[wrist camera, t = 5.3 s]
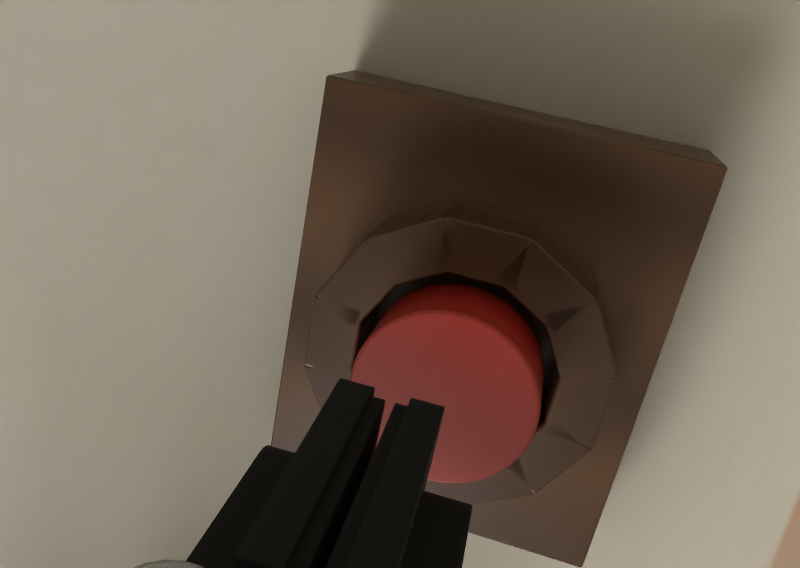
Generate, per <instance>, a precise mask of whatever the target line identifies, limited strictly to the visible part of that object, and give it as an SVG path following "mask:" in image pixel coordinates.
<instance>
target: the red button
mask: <svg viewBox="0 0 800 568" xmlns="http://www.w3.org/2000/svg"><path fill="white" fill-rule="evenodd" d="M543 376H544V364H543V357H542V352H541V348H540V345H539V343H538V340H537V338H536V336H535V334H534V332H533V330H532V328H531V327H530V325H529V324H528V323H527V321H526V320H525V319H524V317H523V316H522V315H521V314H520V313H519V312H518V311H517V310H516V309H515V308H513V307H512V306H511V305H510V304H509V303H507V302H506V301H504V300H503V299H501V298H500V297H498V296H496V295H494V294H492V293H490V292H488V291H486V290H483V289H480V288H477V287H473V286H468V285H463V284H437V285H432V286H427V287H424V288H420V289H417V290H415V291H413V292H411V293H409V294H407V295H405V296H404V297H402V298H401V299H399V300H398V301H396V302H395V303H394V304H393V305H392V306H391V307H390V308H389V309H388V310H387V311H386V312H385V314H384V315H383V316H382V318H381V319H380V321H379V322H378V324H377V325H376V327H375V328H374V329H373V331H372V332H371V334H370V335H369V337H368V338H367V340H366V341H365V343H364V344H363V346H362V348H361V349H360V351H359V352H358V355H357V357H356V359H355V362H354V365H353V368H352V372H351V379H350V381H354V382H357V383H361V384H365V385H368V386H372V387H374V388H375V392H374V397H377V398H380V399H384V400H385V406H384V411H383V416H382V421H381V426H380V431H379V435H378V440H377V444H378V442H379V440H380V437H381V435H382V433H383V430H384V428H385V426H386V423H387V421H388V418H389V416H390V414H391V411H392V409H393V407H394V404H395V403H398V404H402V405H405V406H408V404H409V401H410V399H411V398H415V399H419V400H422V401H426V402H430V403H433V404H437V405H440V406H444V407H445V410H444V414H443V418H442V422H441V426H440V430H439V434H438V438H437V442H436V446H435V450H434V454H433V458H432V462H431V466H430V470H429V474H428V478H427V480H430V481H434V482H441V483H468V482H473V481H478V480H482V479H485V478H488V477H490V476H493V475H495V474H497V473H499V472H501V471H502V470H504V469H505V468H507V467H508V466H510V465H511V464H512V463H514V462H515V461H516V460H517V459H518V458H519V457H520V456H521V455H522V454H523V452H524V451H525V450H526V449H527V447H528V446H529V444H530V442H531V441H532V439H533V437H534V434H535V432H536V429H537V427H538V422H539V418H540V410H541V399H542V388H543ZM376 447H377V445H376Z"/></svg>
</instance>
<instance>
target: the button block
mask: <svg viewBox="0 0 800 568" xmlns="http://www.w3.org/2000/svg"><path fill="white" fill-rule="evenodd" d="M726 171H727V166H726V165H725V164H724V163H723V162H721V161H720V160H719V159H718V158H717V157H716V156H715V155H714V154H713V153H711V152H710V151H709V150H705V149H700V148H696V147H691V146H687V145H683V144H678V143H674V142H669V141H665V140H660V139H656V138H652V137H647V136H643V135H638V134H634V133H629V132H625V131H621V130H616V129H612V128H607V127H603V126H598V125H594V124H590V123H585V122H581V121H576V120H572V119H567V118H563V117H559V116H554V115H550V114H545V113H541V112H536V111H532V110H528V109H523V108H519V107H514V106H510V105H506V104H501V103H497V102H492V101H488V100H483V99H479V98H475V97H470V96H466V95H461V94H457V93H452V92H448V91H444V90H439V89H435V88H430V87H426V86H421V85H417V84H413V83H408V82H404V81H399V80H395V79H390V78H386V77H382V76H377V75H373V74H368V73H364V72H359V71H355V70H354V71H349V72H343V73H338V74H332V75H327V77H326V84H325V90H324V97H323V104H322V110H321V117H320V124H319V130H318V137H317V143H316V150H315V157H314V163H313V170H312V177H311V183H310V190H309V196H308V203H307V210H306V216H305V223H304V230H303V236H302V243H301V249H300V256H299V263H298V269H297V276H296V283H295V289H294V296H293V302H292V309H291V316H290V322H289V329H288V336H287V342H286V349H285V355H284V362H283V369H282V375H281V382H280V389H279V395H278V402H277V408H276V415H275V422H274V428H273V435H272V442H271V446H273V447H276V448H280V449H283V450H287V451H290V452H293V453H295V452H296V451H297V449H298V447H299V446H300V444H301V442H302V441H303V439H304V437H305V436H306V434H307V432H308V431H309V429H310V427H311V426H312V424H313V422H314V420H315V419H316V417H317V415H318V414H319V412H320V410H321V409H322V407H323V405H324V404H325V402H326V400H327V399H328V397H329V395H330V394H331V392H332V390H333V389H334V387H335V385H336V384H337V382H338V381H339V379H340V378H343V379H347V380H350V379H351V372H352V368H353V365H354V362H355V359H356V357H357V355H358V352H359V351H360V349H361V348H362V346H363V344H364V343H365V341H366V340H367V338H368V337H369V335H370V334H371V332H372V331H373V329H374V328H375V327H376V325H377V324H378V322H379V321H380V319H381V318H382V316H383V315H384V314H385V312H386V311H387V310H388V309H389V308H390V307H391V306H392V305H393V304H394V303H395V302H396V301H398V300H399V299H401V298H402V297H404V296H405V295H407V294H409V293H411V292H413V291H415V290H417V289H420V288H424V287H427V286H432V285H437V284H463V285H468V286H473V287H477V288H480V289H483V290H486V291H488V292H490V293H492V294H494V295H496V296H498V297H500V298H501V299H503V300H504V301H506V302H507V303H509V304H510V305H511V306H512V307H513V308H515V309H516V310H517V311H518V312H519V313H520V314H521V315H522V316H523V317H524V319H525V320H526V321H527V323H528V324H529V325H530V327H531V328H532V330H533V332H534V334H535V336H536V338H537V340H538V343H539V345H540V348H541V352H542V357H543V364H544V376H543V388H542V399H541V410H540V418H539V422H538V427H537V429H536V432H535V434H534V437H533V439H532V441H531V442H530V444H529V446H528V447H527V449H526V450H525V451H524V452H523V454H522V455H521V456H520V457H519V458H518V459H517V460H516V461H515V462H514V463H512V464H511V465H510V466H508V467H507V468H505V469H504V470H502V471H501V472H499V473H497V474H495V475H493V476H490V477H488V478H485V479H482V480H478V481H473V482H468V483H441V482H434V481H430V480H427V482H426V486H425V491H427V492H430V493H434V494H437V495H440V496H444V497H447V498H451V499H454V500H457V501H461V502H464V503H468V504H471V505H472V513H471V519H470V524H469V530H468V532H469V533H473V534H476V535H479V536H482V537H485V538H489V539H492V540H495V541H498V542H501V543H504V544H508V545H511V546H514V547H517V548H520V549H524V550H527V551H530V552H533V553H536V554H540V555H543V556H546V557H549V558H552V559H556V560H559V561H562V562H565V563H568V564H571V565H575V566H578V567H582V566H583V563H584V561H585V558H586V555H587V552H588V550H589V547H590V544H591V541H592V539H593V536H594V533H595V530H596V528H597V525H598V522H599V519H600V517H601V514H602V511H603V509H604V506H605V503H606V500H607V498H608V495H609V492H610V489H611V487H612V484H613V481H614V478H615V476H616V473H617V470H618V467H619V465H620V462H621V459H622V456H623V454H624V451H625V448H626V445H627V443H628V440H629V437H630V435H631V432H632V429H633V426H634V424H635V421H636V418H637V415H638V413H639V410H640V407H641V404H642V402H643V399H644V396H645V393H646V391H647V388H648V385H649V382H650V380H651V377H652V374H653V371H654V369H655V366H656V363H657V361H658V358H659V355H660V352H661V350H662V347H663V344H664V341H665V339H666V336H667V333H668V330H669V328H670V325H671V322H672V319H673V317H674V314H675V311H676V308H677V306H678V303H679V300H680V297H681V295H682V292H683V289H684V287H685V284H686V281H687V278H688V276H689V273H690V270H691V267H692V265H693V262H694V259H695V256H696V254H697V251H698V248H699V245H700V243H701V240H702V237H703V234H704V232H705V229H706V226H707V223H708V221H709V218H710V215H711V213H712V210H713V207H714V204H715V202H716V199H717V196H718V193H719V191H720V188H721V185H722V182H723V180H724V177H725V174H726Z"/></svg>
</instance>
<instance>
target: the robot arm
mask: <svg viewBox="0 0 800 568" xmlns="http://www.w3.org/2000/svg"><path fill="white" fill-rule="evenodd" d="M374 392H375V388H374V387H372V386H368V385H365V384H361V383H357V382H354V381H350V380H347V379H343V378H340V379H339V381H338V382H337V384H336V385H335V387H334V389H333V390H332V392H331V394H330V395H329V397H328V399H327V400H326V402H325V404H324V405H323V407H322V409H321V410H320V412H319V414H318V415H317V417H316V419H315V420H314V422H313V424H312V426H311V427H310V429H309V431H308V432H307V434H306V436H305V437H304V439H303V441H302V442H301V444H300V446H299V447H298V449H297V451H296V452H295V453H293V452H290V451H287V450H283V449H280V448H276V447H273V446H269V445H267V446H265V447H264V448H263V449H262V450H261V451H260V452H259V454H258V455H257V457H256V458H255V460H254V461H253V463H252V464H251V466H250V467H249V469H248V470H247V472H246V473H245V474H244V476H243V477H242V479H241V480H240V482H239V483H238V485H237V486H236V488H235V489H234V491H233V492H232V494H231V495H230V497H229V498H228V500H227V501H226V503H225V504H224V505H223V507H222V508H221V510H220V511H219V513H218V514H217V516H216V517H215V519H214V520H213V522H212V523H211V525H210V526H209V528H208V529H207V531H206V532H205V534H204V535H203V536H202V538H201V539H200V541H199V542H198V544H197V545H196V547H195V548H194V550H193V551H192V553H191V554H190V556H189V557H188V559H187V560H186V561H180V560H160V561H154V562H149V563H144V564H142V565H139V566H137V567H135V568H462V563H463V557H464V552H465V546H466V541H467V535H468V530H469V524H470V519H471V513H472V505H471V504H468V503H464V502H461V501H457V500H454V499H451V498H447V497H444V496H440V495H437V494H434V493H430V492H427V491H425V486H426V482H427V478H428V474H429V470H430V466H431V462H432V458H433V454H434V450H435V446H436V442H437V438H438V434H439V430H440V426H441V422H442V418H443V414H444V410H445V407H444V406H440V405H437V404H433V403H430V402H426V401H422V400H419V399H415V398H411V399H410V401H409V404H408V406H405V405H402V404H398V403H395V404H394V407H393V409H392V411H391V414H390V416H389V418H388V421H387V423H386V426H385V428H384V430H383V433H382V435H381V437H380V440H379V442H378V444H377V440H378V435H379V431H380V426H381V421H382V416H383V411H384V406H385V400H384V399H380V398H377V397H374ZM376 445H377V447H376Z"/></svg>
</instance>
